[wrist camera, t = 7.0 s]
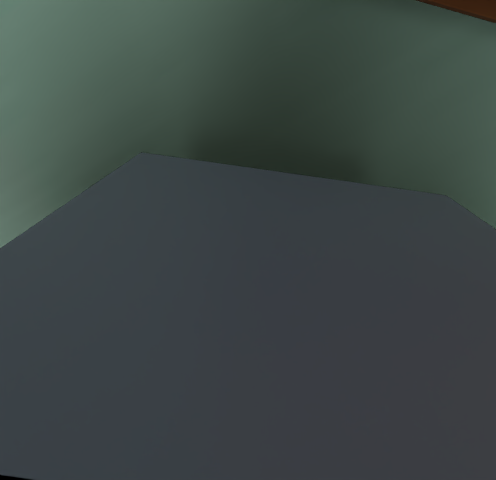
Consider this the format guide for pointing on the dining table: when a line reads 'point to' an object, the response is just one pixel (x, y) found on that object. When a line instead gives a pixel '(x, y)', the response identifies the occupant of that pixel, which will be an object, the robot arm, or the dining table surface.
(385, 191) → the slate grey cube
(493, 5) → the diary
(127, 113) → the dining table surface
